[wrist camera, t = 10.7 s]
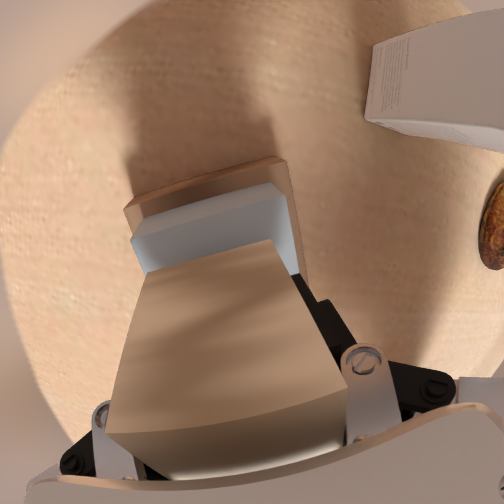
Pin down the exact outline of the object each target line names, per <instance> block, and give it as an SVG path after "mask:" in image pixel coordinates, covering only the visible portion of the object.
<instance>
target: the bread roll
mask: <svg viewBox="0 0 504 504" xmlns="http://www.w3.org/2000/svg"><path fill="white" fill-rule="evenodd" d="M479 251H480V252H479V253H480V258H481V260H482V262H483V263H484V265H485V266H487V267H488V268H489V269H492V270H500V269H502V268H504V182H503V183H501V184H500V185H499V186H498V187H497V188H496V189H495V191H494V192H493V194H492V196H491V198H490V200H489V203H488V207H487V209H486V211H485V214H484V217H483V218H482V222H481V230H480V237H479Z"/></svg>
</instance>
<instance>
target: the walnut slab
mask: <svg viewBox="0 0 504 504" xmlns="http://www.w3.org/2000/svg"><path fill="white" fill-rule="evenodd" d="M268 182H271V183H272V184H273V185H274V186H275V187H277V188H278V189H279V190H280V191H281V192H282V193H283V194H284V195H285V197H286V202H287V207H288V212H289V217H290V223H291V228H292V234H293V239H294V245H295V250H296V256H297V262H298V268H299V273H300V274H301V276H302V277H303V279H304V281H305V282H306V284H307V286H308V287H309V285H308V278H307V271H306V265H305V259H304V253H303V246H302V241H301V235H300V229H299V223H298V218H297V212H296V207H295V201H294V196H293V191H292V186H291V181H290V176H289V171H288V166H287V161H285V160H283V159H281V158H279V157H276V156H273V157H269V158H265V159H261V160H257V161H253V162H249V163H245V164H241V165H237V166H233V167H230V168H226V169H222V170H219V171H215V172H212V173H208V174H205V175H201V176H198V177H195V178H191V179H188V180H185V181H182V182H179V183H175V184H172V185H169V186H166V187H163V188H160V189H157V190H154V191H151V192H148V193H146V194H143V195H140V196H137V197H134V198H133V199H132V200H131V201H130V202H129V203H128V204H127V206H126V207H125V208H124V209H123V211H124V213H125V216H126V218H127V221H128V224H129V226H130V229H131V231H132V233H133V234H134V233H135V231H136V229H137V228H138V226H139V225H140V223H141V222H142V220H143V218H146V217H149V216H152V215H155V214H158V213H162V212H165V211H168V210H171V209H174V208H178V207H181V206H184V205H187V204H191V203H194V202H198V201H201V200H204V199H208V198H211V197H215V196H218V195H222V194H226V193H229V192H233V191H237V190H241V189H244V188H248V187H252V186H256V185H260V184H264V183H268Z"/></svg>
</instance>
